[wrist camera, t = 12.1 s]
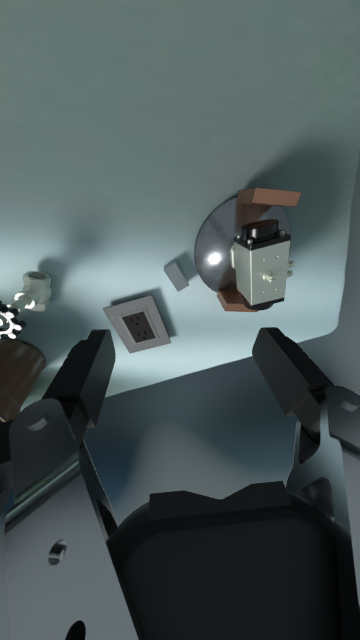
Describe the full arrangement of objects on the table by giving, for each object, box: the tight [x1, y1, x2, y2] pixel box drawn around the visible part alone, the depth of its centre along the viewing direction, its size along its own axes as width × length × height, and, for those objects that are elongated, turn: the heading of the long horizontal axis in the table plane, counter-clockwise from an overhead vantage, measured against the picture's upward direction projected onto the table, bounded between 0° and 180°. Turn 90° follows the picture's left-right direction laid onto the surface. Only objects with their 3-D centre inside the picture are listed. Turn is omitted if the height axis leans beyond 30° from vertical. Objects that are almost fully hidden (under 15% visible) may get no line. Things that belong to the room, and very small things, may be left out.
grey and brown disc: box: [194, 188, 301, 312], centre depth 30 cm, size 18×17×8 cm
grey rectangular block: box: [164, 260, 189, 291], centre depth 33 cm, size 5×2×2 cm, turn 31°
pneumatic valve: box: [230, 219, 294, 311], centre depth 27 cm, size 6×12×12 cm, turn 14°
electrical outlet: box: [103, 295, 171, 353], centre depth 40 cm, size 13×10×2 cm
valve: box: [0, 271, 52, 339], centre depth 29 cm, size 7×7×12 cm
